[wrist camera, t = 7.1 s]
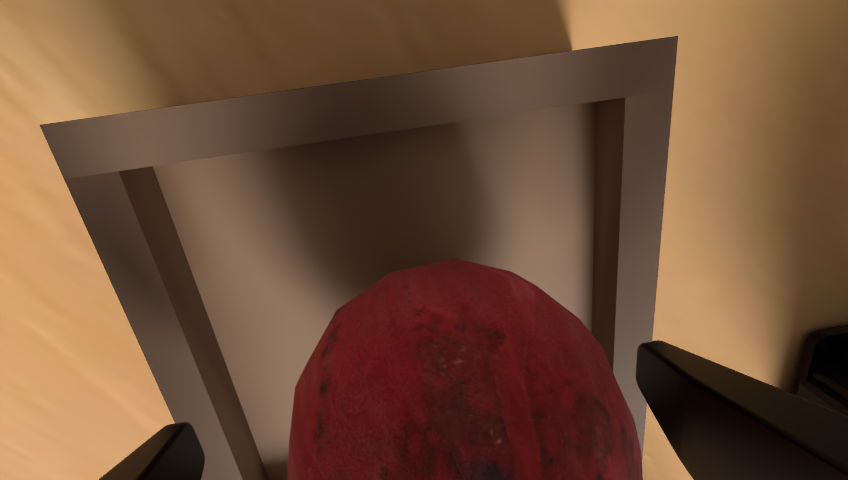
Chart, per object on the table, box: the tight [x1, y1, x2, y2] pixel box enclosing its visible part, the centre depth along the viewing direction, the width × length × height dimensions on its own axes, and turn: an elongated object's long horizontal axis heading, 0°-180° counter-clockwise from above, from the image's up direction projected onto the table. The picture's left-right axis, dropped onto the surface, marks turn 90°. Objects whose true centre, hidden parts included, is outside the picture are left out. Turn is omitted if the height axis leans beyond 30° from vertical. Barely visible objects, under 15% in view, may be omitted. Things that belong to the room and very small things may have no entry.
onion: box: [287, 258, 643, 480], centre depth 7 cm, size 6×6×8 cm
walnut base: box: [40, 36, 678, 480], centre depth 12 cm, size 12×12×5 cm
